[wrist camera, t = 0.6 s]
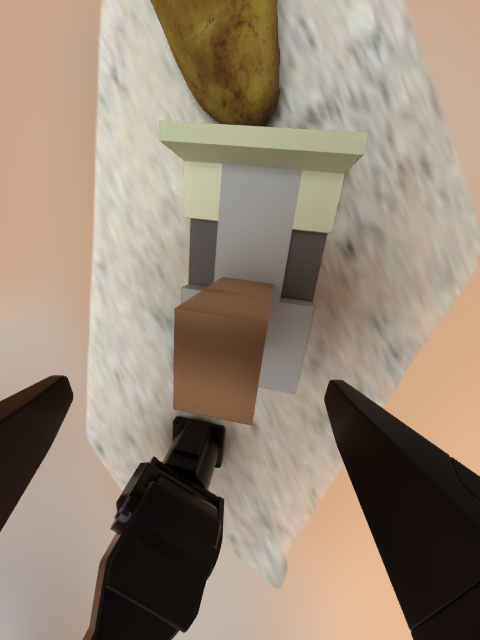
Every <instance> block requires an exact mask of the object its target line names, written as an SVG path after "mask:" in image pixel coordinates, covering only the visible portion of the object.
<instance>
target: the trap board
mask: <svg viewBox="0 0 480 640" xmlns="http://www.w3.org/2000/svg"><path fill="white" fill-rule="evenodd" d="M368 134H369V133H359V132H343V131H326V130H310V129H293V128H276V127H260V126H243V125H226V124H210V123H193V122H177V121H160V120H159V140H160V141H161V142H162V143H163V144H164V145H166V146H167V147H168V148H169V149H171V150H172V151H173V152H174V153H175V154H177V155H178V156H179V157H180V158H182V159H183V160H184V199H183V217H186V218H190V219H191V228H190V258H189V284H188V285H186V286H184V287H182V288H181V304H182V303H184V302H185V301H187V300H188V299H190V298H191V297H193V296H194V295H196V294H198V293H199V292H201V291H202V290H204V289H205V288H207V287H208V286H210V285H211V284H213V283H214V282H216V281H217V280H219V279H220V278H222V277H227V278H234V279H241V280H248V281H256V282H263V283H270V284H274V286H273V293H272V300H271V307H270V314H269V320H268V327H267V333H266V339H265V346H264V352H263V358H262V365H261V371H260V377H259V383H258V387H261V388H267V389H272V390H277V391H283V392H288V393H293V394H295V392H296V387H297V383H298V379H299V374H300V370H301V365H302V361H303V357H304V352H305V348H306V343H307V339H308V334H309V330H310V326H311V321H312V317H313V312H314V308H315V307H314V305H313V303H312V300H313V295H314V291H315V286H316V282H317V277H318V273H319V268H320V264H321V259H322V255H323V250H324V245H325V241H326V236H327V234H328V233H332V229H333V224H334V220H335V215H336V211H337V206H338V202H339V198H340V193H341V189H342V184H343V180H344V176H345V173H346V172H347V171H348V170H349V169H350V168H351V167H352V166H353V165H354V164H355V163H356V162H357V161H358V160H359V159H360V158H361V157H362V156H363V155H364V151H365V147H366V142H367V138H368Z"/></svg>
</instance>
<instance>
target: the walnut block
mask: <svg viewBox="0 0 480 640" xmlns="http://www.w3.org/2000/svg"><path fill="white" fill-rule="evenodd" d="M273 286H274V284H270V283H263V282H256V281H248V280H241V279H234V278H227V277H222V278H220V279H219V280H217V281H216V282H214V283H213V284H211V285H210V286H208V287H207V288H205V289H204V290H202V291H201V292H199V293H198V294H196V295H194V296H193V297H191V298H190V299H188V300H187V301H185V302H184V303H182V304H181V305H179V306H178V307H176V308H175V324H174V402H173V409H175V410H180V411H185V412H189V413H194V414H199V415H204V416H208V417H213V418H218V419H223V420H227V421H232V422H237V423H242V424H247V425H251V426H252V421H253V415H254V409H255V402H256V396H257V390H258V383H259V377H260V371H261V365H262V358H263V352H264V346H265V339H266V333H267V327H268V320H269V314H270V307H271V300H272V293H273Z"/></svg>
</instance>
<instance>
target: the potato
mask: <svg viewBox="0 0 480 640" xmlns="http://www.w3.org/2000/svg"><path fill="white" fill-rule="evenodd" d="M151 3H152V5H153V7H154V9H155V12H156V14H157V17H158V19H159V21H160V24H161V26H162V28H163V30H164V33H165V35H166V38H167V40H168V43H169V46H170V48H171V51H172V53H173V56H174V58H175V60H176V63H177V65H178V67H179V69H180V71H181V73H182V75H183V77H184V79H185V81H186V83H187V85H188V87H189V89H190V90H191V92H192V94H193V95H194V97H195V99H196V100H197V102H198V103H199V105H200V106H201V107H202V108H203V110H204V111H205V112H206V113H208V114H209V115H210V116H211V117H212V118H214V119H215V120H217V121H218V122H220V123H221V124H226V125H243V126H260V127H266V125H267V124H268V122H269V120H270V118H271V116H272V114H273V111H274V109H275V107H276V105H277V103H278V99H279V94H280V89H279V64H280V50H279V45H278V16H277V0H151Z"/></svg>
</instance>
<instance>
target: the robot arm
mask: <svg viewBox="0 0 480 640" xmlns="http://www.w3.org/2000/svg"><path fill="white" fill-rule="evenodd" d="M72 401H73V392H72V389H71V386H70V383H69V380H68V378H67V377H66V376H62V375H61V376H59V375H53V376H49V377H48V378H46V379H43V380H41V381H40V382H38V383H36V384H34V385H32V386H30V387H28V388H26V389H24V390H22V391H20V392H18V393H16V394H14V395H12V396H10V397H8V398H6V399H4V400H2V401H0V532H1V530H2V528H3V527H4V525H5V523H6V522H7V520H8V518H9V516H10V514H11V513H12V511H13V510H14V508H15V506H16V505H17V503H18V501H19V500H20V498H21V496H22V495H23V493H24V491H25V490H26V488H27V486H28V484H29V483H30V481H31V479H32V478H33V476H34V474H35V473H36V471H37V469H38V468H39V466H40V464H41V463H42V461H43V459H44V458H45V456H46V454H47V452H48V450H49V449H50V447H51V445H52V443H53V441H54V439H55V437H56V435H57V433H58V431H59V428H60V426H61V424H62V422H63V420H64V418H65V416H66V414H67V412H68V410H69V407H70V405H71V403H72ZM324 401H325V405H326V409H327V413H328V416H329V420H330V423H331V427H332V430H333V434H334V437H335V441H336V444H337V447H338V449H339V452H340V455H341V457H342V460H343V462H344V465H345V467H346V470H347V472H348V475H349V477H350V480H351V482H352V485H353V487H354V490H355V492H356V495H357V497H358V500H359V502H360V505H361V508H362V510H363V513H364V515H365V518H366V520H367V523H368V525H369V528H370V530H371V533H372V535H373V538H374V541H375V543H376V545H377V548H378V550H379V553H380V556H381V558H382V561H383V563H384V566H385V568H386V571H387V573H388V576H389V578H390V581H391V583H392V586H393V588H394V591H395V593H396V596H397V599H398V601H399V604H400V606H401V609H402V611H403V614H404V616H405V619H406V621H407V624H408V627H409V629H410V630H411V635H412V637H413V640H480V476H478V475H477V474H476V473H474V472H472V471H471V470H470V469H468V468H467V467H465V466H464V465H462V464H461V463H460V462H458V461H457V460H455V459H454V458H452V457H450V456H449V455H448V454H447V453H445V452H444V451H443V450H441V449H440V448H438V447H437V446H435V445H434V444H433V443H431V442H430V441H428V440H427V439H426V438H424V437H423V436H421V435H419V434H418V433H417V432H415V431H414V430H413V429H411V428H410V427H408V426H407V425H406V424H404V423H403V422H401V421H400V420H398V419H397V418H396V417H394V416H393V415H391V414H390V413H388V412H387V411H386V410H384V409H383V408H381V407H380V406H379V405H377V404H376V403H374V402H373V401H372V400H370V399H369V398H367V397H366V396H364V395H363V394H362V393H360V392H359V391H357V390H356V389H354V388H353V387H352V386H350V385H349V384H347V383H346V382H345V381H343V380H330V382H329V384H328V387H327V390H326V394H325V398H324ZM220 430H221V431H220ZM224 438H225V428H224V427H222V426H218V425H214V424H209V423H204V422H200V421H195V420H190V419H185V418H181V417H176V418H175V419H174V421H173V443H172V445H171V447H170V449H169V451H168V452H167V454H166V456H165V458H164V460H163V462H160V461H159V460H158V459H157V458H156V457H154V456H153V458H152V459H151V461H150V462H147V463H140V464H139V466H138V468H137V469H136V471H135V472H134V474H133V476H132V477H131V479H130V480H129V482H128V484H127V485H126V487H125V489H124V490H123V492H122V494H121V496H120V497H119V499H118V500H117V502H116V506H117V513H116V515H115V520H114V522H113V524H112V526H111V528H110V529H111V530H113V531H115V532H116V535H115V536H114V538H113V540H112V542H111V543H110V545H109V547H108V549H107V551H106V552H105V554H104V556H103V558H102V559H101V562H100V565H99V570H98V576H97V583H96V588H95V595H94V602H93V607H92V614H91V620H90V626H89V629H88V630H87V632H86V634H85V636H84V638H83V640H172V639H173V637H174V636H175V635H176V634H177V632H178V631H179V630H180V631H182V632H183V633H185V632H186V631H187V630H188V629H189V627H190V626H191V624H192V623H193V621H194V619H195V618H196V616H197V614H198V611H199V607H200V603H201V599H202V595H203V591H204V587H205V584H206V580H207V579H208V577H209V576H210V574H211V572H212V571H213V569H214V566H215V564H216V561H217V559H218V556H219V552H220V548H221V544H222V536H223V515H224V499H223V498H221V497H220V496H219V497H218V496H216V495H215V494H213V493H211V492H210V491H208V489H209V485H210V482H211V478H212V475H213V471H214V468H220V467H221V464H222V456H223V447H224Z"/></svg>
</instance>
